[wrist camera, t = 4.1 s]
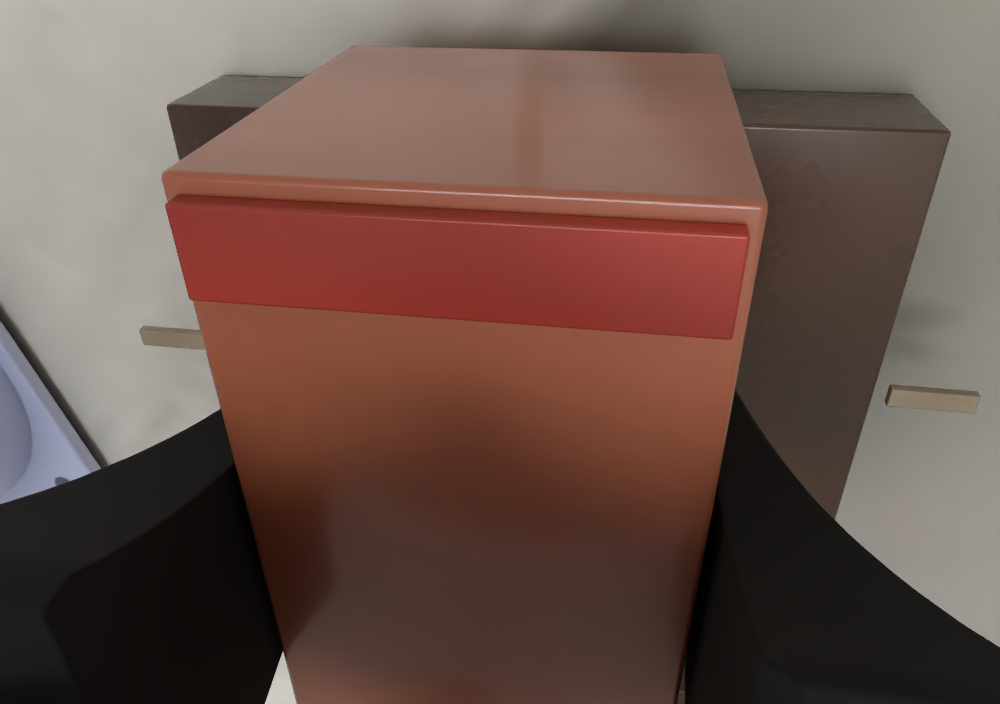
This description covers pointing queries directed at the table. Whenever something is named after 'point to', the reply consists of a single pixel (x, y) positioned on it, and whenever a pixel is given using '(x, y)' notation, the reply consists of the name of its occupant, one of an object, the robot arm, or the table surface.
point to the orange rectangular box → (478, 362)
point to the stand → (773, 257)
